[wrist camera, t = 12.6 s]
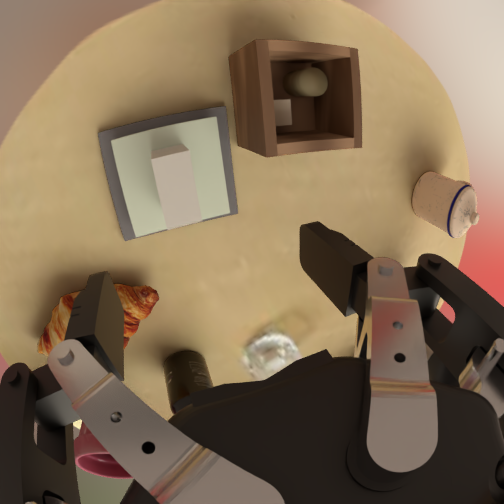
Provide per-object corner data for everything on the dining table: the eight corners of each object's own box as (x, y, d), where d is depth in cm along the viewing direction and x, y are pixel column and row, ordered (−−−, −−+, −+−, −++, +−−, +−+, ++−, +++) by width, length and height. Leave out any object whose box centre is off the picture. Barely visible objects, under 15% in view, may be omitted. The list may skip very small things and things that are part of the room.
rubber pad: (224, 106, 26) (225, 106, 26) (236, 211, 32) (238, 213, 32) (98, 132, 23) (97, 133, 22) (125, 239, 29) (124, 241, 28)
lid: (212, 116, 26) (230, 117, 20) (225, 206, 31) (245, 232, 25) (113, 139, 23) (101, 146, 17) (136, 229, 28) (134, 261, 23)
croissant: (58, 338, 35) (68, 386, 31) (12, 319, 26) (18, 376, 22) (164, 281, 37) (184, 334, 33) (126, 246, 28) (144, 313, 24)
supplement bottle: (155, 358, 38) (166, 426, 28) (195, 343, 39) (215, 410, 30) (174, 381, 42) (189, 443, 32) (211, 367, 43) (232, 429, 33)
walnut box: (313, 57, 26) (357, 48, 19) (318, 136, 31) (361, 147, 24) (228, 56, 23) (255, 39, 17) (238, 145, 29) (266, 157, 22)
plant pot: (160, 414, 46) (173, 471, 35) (105, 429, 44) (110, 482, 33) (118, 377, 38) (123, 447, 27) (59, 395, 36) (56, 457, 25)
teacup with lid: (413, 226, 44) (461, 256, 35) (406, 184, 39) (463, 211, 30) (448, 194, 45) (494, 218, 35) (444, 154, 40) (496, 174, 30)
